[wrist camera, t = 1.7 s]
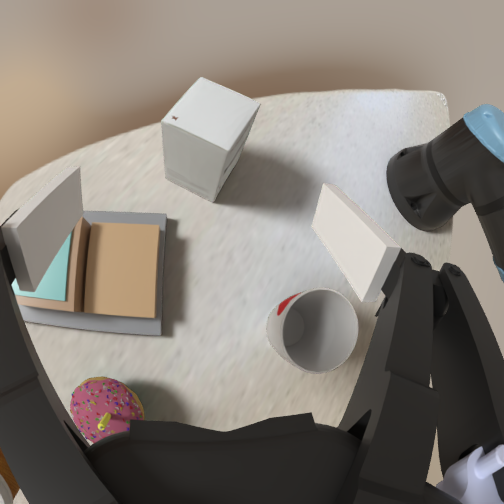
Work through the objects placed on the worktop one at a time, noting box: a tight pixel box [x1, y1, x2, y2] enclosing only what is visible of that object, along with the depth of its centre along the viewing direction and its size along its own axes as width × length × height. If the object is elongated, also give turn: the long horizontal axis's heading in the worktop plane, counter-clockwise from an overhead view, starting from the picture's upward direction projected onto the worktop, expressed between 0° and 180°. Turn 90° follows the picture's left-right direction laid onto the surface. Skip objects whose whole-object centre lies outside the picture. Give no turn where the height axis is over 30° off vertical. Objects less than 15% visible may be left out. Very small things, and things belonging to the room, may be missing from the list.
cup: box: [266, 287, 358, 374], centre depth 30 cm, size 8×8×10 cm
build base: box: [12, 211, 167, 336], centre depth 28 cm, size 20×14×6 cm
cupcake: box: [70, 377, 144, 443], centre depth 23 cm, size 9×8×12 cm
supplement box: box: [161, 77, 261, 202], centre depth 31 cm, size 7×7×13 cm
